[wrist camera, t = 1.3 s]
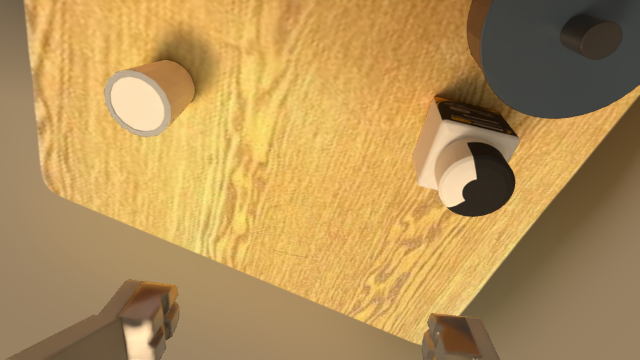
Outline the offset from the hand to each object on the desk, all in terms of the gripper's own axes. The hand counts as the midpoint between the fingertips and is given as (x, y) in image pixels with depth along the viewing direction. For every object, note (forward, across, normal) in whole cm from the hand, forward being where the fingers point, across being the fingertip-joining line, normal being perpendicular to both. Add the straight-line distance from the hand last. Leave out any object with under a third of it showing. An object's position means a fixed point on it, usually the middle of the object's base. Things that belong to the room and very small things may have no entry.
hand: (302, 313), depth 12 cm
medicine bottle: (+31, -14, +2) cm, 34 cm away
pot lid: (+22, -18, -9) cm, 29 cm away
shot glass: (+34, +18, 0) cm, 38 cm away
